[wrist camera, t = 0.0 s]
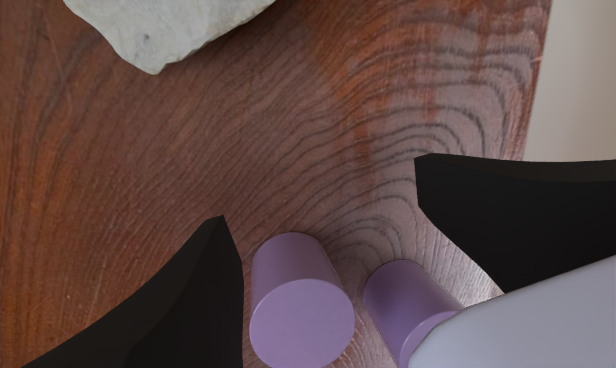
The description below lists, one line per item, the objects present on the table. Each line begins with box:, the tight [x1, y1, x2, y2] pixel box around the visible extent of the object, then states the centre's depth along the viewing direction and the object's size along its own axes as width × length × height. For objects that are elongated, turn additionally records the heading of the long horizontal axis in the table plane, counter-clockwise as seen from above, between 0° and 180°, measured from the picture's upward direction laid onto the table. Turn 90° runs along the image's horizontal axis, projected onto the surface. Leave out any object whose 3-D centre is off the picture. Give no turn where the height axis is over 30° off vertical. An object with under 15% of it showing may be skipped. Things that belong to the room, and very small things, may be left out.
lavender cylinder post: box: [249, 232, 356, 368], centre depth 18 cm, size 5×5×6 cm
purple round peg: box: [363, 260, 466, 368], centre depth 20 cm, size 5×5×6 cm
